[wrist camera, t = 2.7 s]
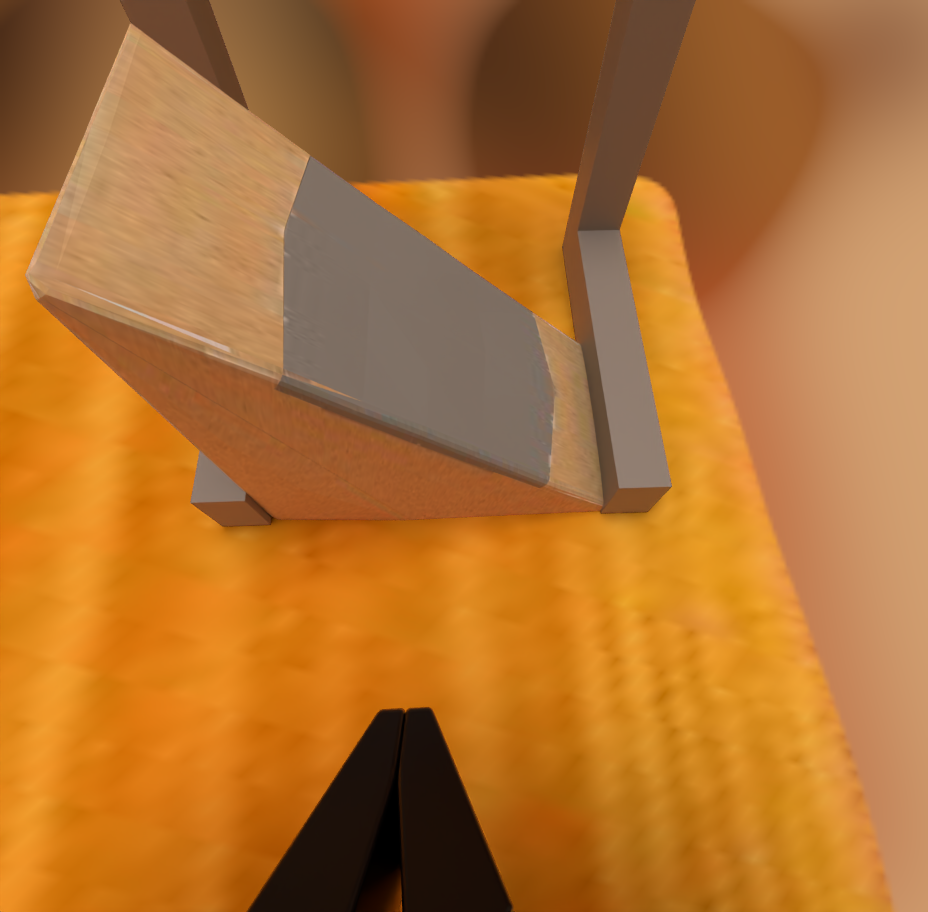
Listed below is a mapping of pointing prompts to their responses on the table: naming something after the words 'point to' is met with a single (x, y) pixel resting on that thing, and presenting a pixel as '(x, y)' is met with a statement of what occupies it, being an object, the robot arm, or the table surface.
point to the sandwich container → (303, 319)
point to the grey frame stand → (584, 247)
